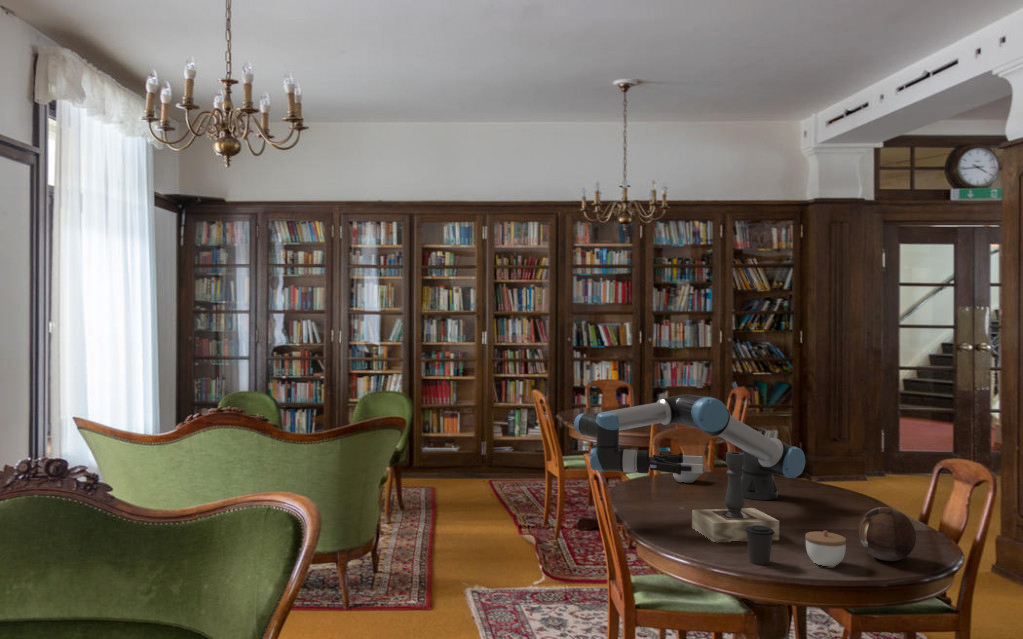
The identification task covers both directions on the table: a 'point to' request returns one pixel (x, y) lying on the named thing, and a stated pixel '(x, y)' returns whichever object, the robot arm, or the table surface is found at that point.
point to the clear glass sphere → (886, 534)
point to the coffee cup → (759, 543)
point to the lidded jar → (825, 547)
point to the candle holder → (734, 485)
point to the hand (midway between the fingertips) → (702, 464)
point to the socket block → (731, 524)
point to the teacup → (688, 476)
